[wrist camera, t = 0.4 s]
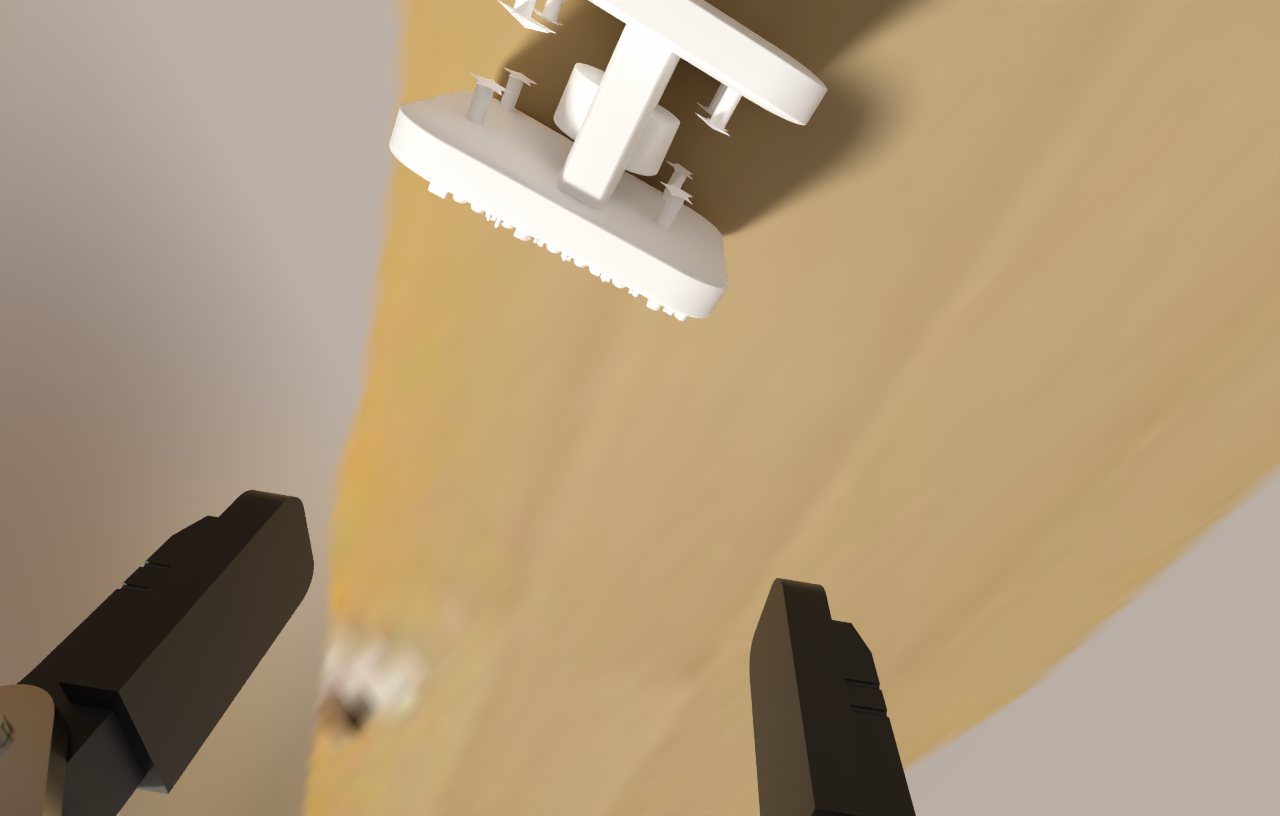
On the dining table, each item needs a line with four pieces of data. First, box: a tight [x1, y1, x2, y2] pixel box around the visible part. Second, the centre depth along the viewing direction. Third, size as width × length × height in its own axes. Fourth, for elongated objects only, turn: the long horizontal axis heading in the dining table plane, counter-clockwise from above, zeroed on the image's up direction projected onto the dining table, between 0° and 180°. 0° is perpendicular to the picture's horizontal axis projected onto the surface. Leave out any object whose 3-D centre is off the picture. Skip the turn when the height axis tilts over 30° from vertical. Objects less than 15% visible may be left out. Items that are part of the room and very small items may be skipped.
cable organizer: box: [389, 0, 827, 321], centre depth 28 cm, size 15×11×12 cm
